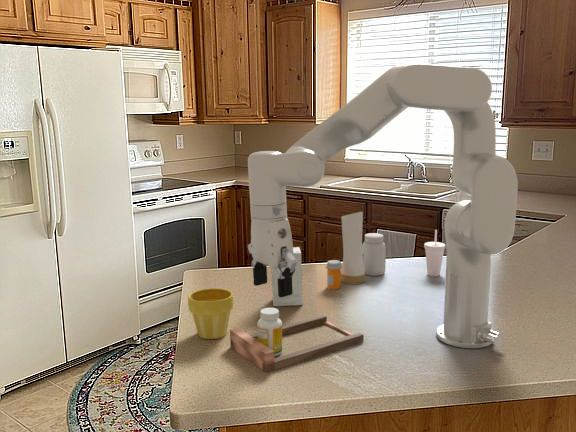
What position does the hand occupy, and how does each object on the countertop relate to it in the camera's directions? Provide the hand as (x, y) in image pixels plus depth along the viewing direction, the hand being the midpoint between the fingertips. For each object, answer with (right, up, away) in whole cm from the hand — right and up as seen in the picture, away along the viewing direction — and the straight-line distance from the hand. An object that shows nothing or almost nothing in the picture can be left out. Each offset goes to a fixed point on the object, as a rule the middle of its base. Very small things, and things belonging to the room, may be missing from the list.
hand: (272, 289), depth 123 cm
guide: (+5, -13, +7) cm, 16 cm away
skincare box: (+3, -8, +33) cm, 34 cm away
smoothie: (+49, -3, +56) cm, 74 cm away
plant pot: (-15, -12, +13) cm, 23 cm away
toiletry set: (+24, -4, +52) cm, 58 cm away
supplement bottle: (-1, -14, +3) cm, 14 cm away
